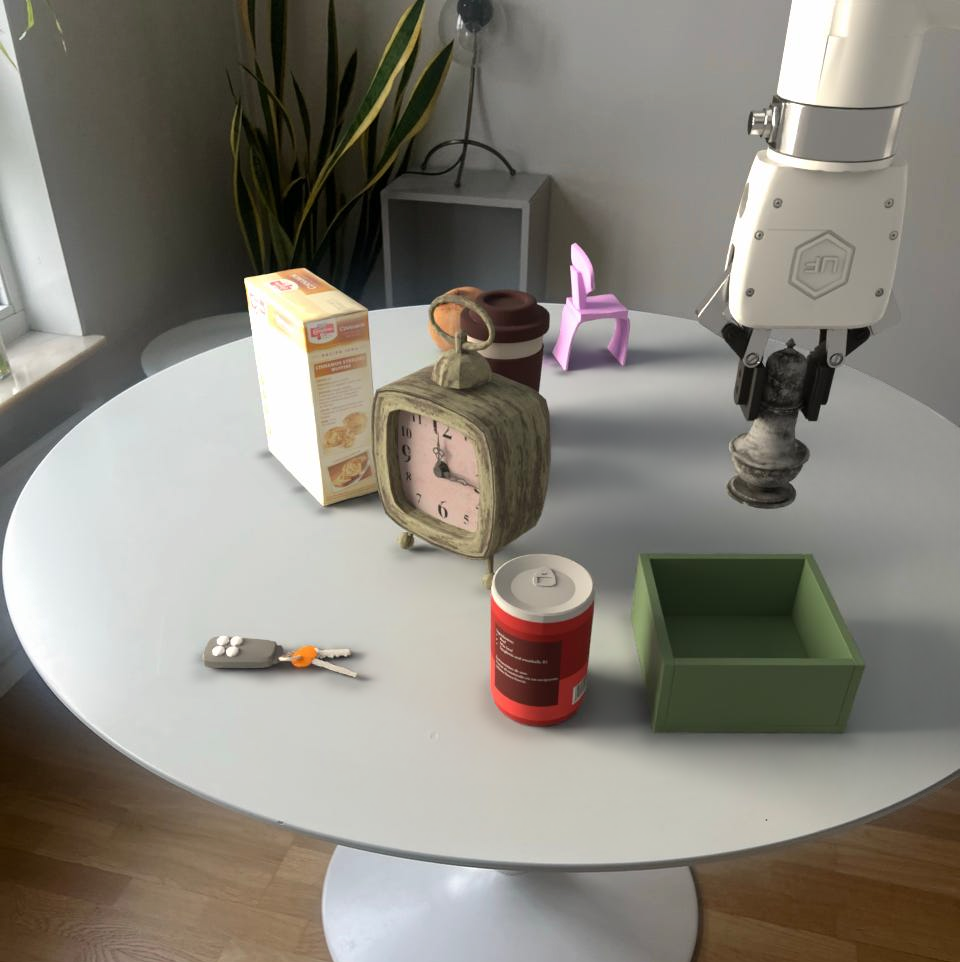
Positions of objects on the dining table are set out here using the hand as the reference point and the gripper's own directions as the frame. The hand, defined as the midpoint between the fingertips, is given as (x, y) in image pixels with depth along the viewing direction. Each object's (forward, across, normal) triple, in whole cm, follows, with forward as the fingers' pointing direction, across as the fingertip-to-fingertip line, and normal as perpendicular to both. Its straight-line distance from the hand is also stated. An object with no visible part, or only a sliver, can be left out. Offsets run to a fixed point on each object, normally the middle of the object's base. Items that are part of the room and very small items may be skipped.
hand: (777, 410), depth 70 cm
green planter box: (+21, -1, -4) cm, 22 cm away
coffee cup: (+21, -19, +41) cm, 50 cm away
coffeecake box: (+21, -39, +29) cm, 53 cm away
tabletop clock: (+21, -23, +13) cm, 34 cm away
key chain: (+21, -38, -4) cm, 44 cm away
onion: (+21, -24, +63) cm, 70 cm away
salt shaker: (+7, 0, 0) cm, 7 cm away
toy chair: (+21, -7, +61) cm, 65 cm away
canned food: (+21, -17, -7) cm, 28 cm away
